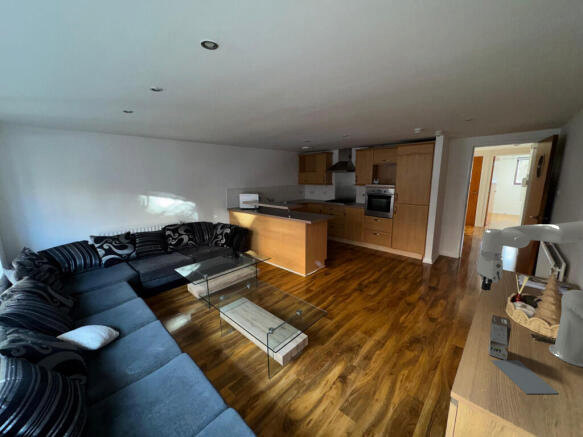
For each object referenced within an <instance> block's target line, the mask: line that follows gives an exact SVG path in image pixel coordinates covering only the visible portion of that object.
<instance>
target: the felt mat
mask: <svg viewBox="0 0 583 437" xmlns="http://www.w3.org/2000/svg"><path fill="white" fill-rule="evenodd" d="M490 361H491V362H492V363H493V364H494V365H495V366H496V367H497V368H498V369H499V370H500V371H501V372H503V374H504V375H505V376H507V377H508V378H509V380H511V381H512V382H513V383H514V384H515V385H516V386H518V388H519V389H521V390H522V391H523V392H524V393H525V394H526V395H558V394H559V392H558V391H557V390H556V389H554V388H553V387H552V386H550V385H549V384H548V383H547V382H546V381H544V379H542V378H541V377H539V376H538V375H537V374H536V373H535V372H533V371H532V370H531V369H530V368H528V366H527V365H525V364H524V363H522V362H521V361H520V359H507V360H503V359H497V360H496V359H495V360H493V359H491V360H490Z"/></svg>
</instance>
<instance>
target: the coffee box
mask: <svg viewBox="0 0 583 437" xmlns="http://www.w3.org/2000/svg"><path fill="white" fill-rule="evenodd" d="M511 332H512V326H511V319H509V318H507V317H505V316H500V315H495V314H491V321H490V330H489V340H488V355H490V356H492V357H495V358H498V359H500V360H508V356H509V355H508V354H509V347H510V338H511Z"/></svg>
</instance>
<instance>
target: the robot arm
mask: <svg viewBox="0 0 583 437" xmlns="http://www.w3.org/2000/svg"><path fill="white" fill-rule="evenodd" d="M530 241H538V242H540V241H541V242H546V243H547V242H548V243H552V244H571V243H580V242H583V220H579V221H571V222H562V223H561V222H560V223H553V224H551V223H550V224H545V223H544V224H523V225H515V226H508V227H505V228H502V229H498V228H486V229H484V231H483V236H482V242H481V247H480V248H481V250H480V255H479V257H478V260H477V262H476V263H477V264H476V272H477V274H478V276H480V281H481V289H482V290H483V291H491V287H492V284H493V283H494V284H498V283H499V280H502V279H503V272H504V264H503V259H502V258H503V256H502V255H503V248H504V247H509V248H513V249H521V248H525V247H526V248H527V246H528V245H529V244H530ZM560 302H561V315H560V319H559V325H558V328H557V332H556V338H555V344H550V345H549V347H548V349H549V352H550V353H551V354H552V355H553V357H555V358H557V359H560V360H561V361H563V362H565V363H567V364H570V365H573V366H576V367H579V368H583V290H580V289H571V290H567V291H565V292H564V293H563V294H562V296H561V300H560Z"/></svg>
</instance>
